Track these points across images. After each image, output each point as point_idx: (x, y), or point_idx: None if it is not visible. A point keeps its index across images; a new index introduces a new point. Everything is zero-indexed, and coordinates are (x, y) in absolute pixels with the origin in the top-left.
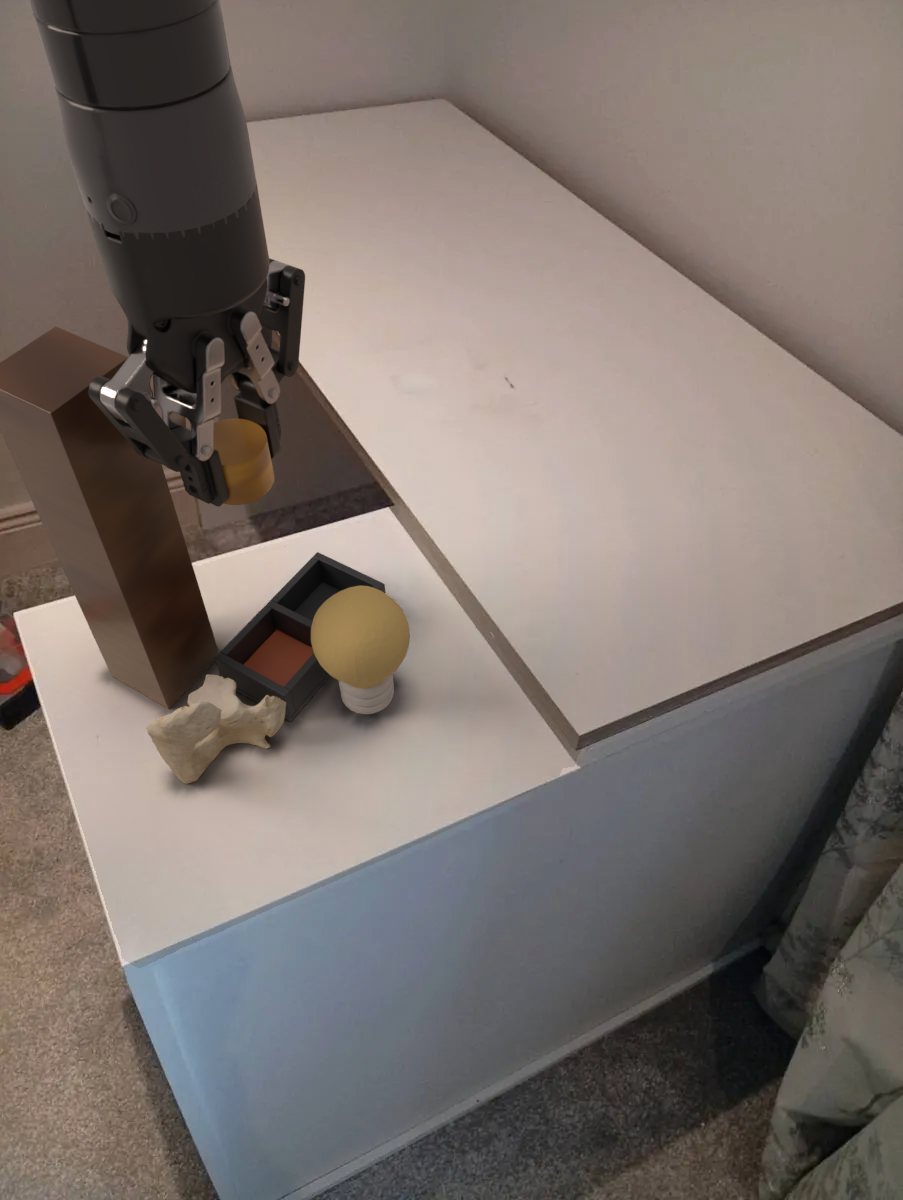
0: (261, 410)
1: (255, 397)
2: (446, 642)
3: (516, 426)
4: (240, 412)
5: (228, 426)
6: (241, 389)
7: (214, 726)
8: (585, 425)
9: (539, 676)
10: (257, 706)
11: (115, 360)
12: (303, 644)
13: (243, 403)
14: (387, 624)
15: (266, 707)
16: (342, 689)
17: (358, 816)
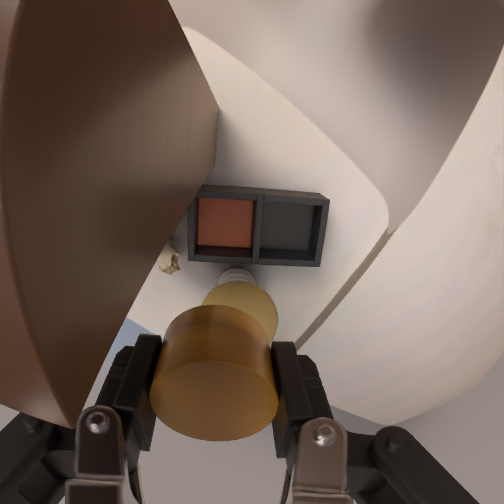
0: (277, 452)
1: (288, 460)
2: (301, 301)
3: (480, 246)
4: (282, 400)
5: (245, 390)
6: (295, 449)
7: None
8: (483, 282)
9: (299, 353)
10: (160, 262)
11: (16, 390)
12: (250, 224)
13: (284, 427)
14: None
15: (161, 270)
16: (220, 282)
17: (161, 316)
